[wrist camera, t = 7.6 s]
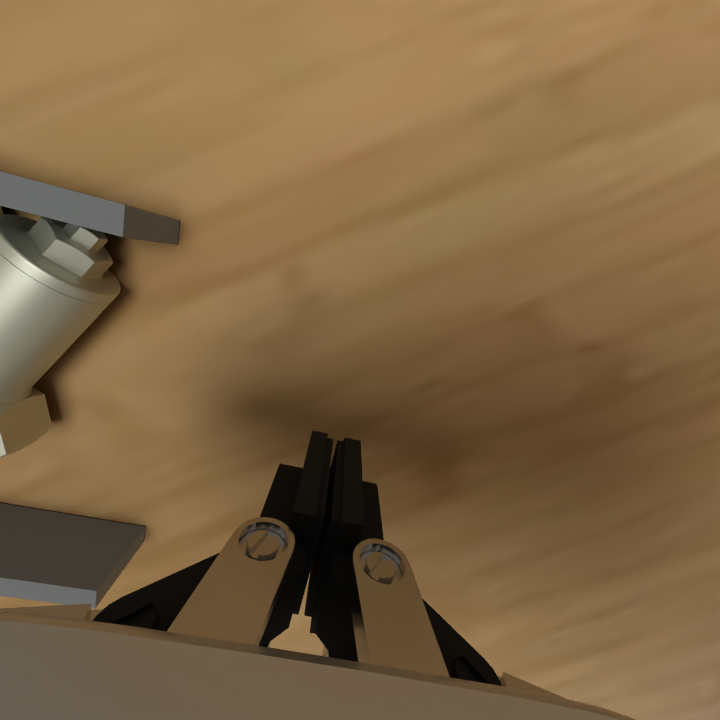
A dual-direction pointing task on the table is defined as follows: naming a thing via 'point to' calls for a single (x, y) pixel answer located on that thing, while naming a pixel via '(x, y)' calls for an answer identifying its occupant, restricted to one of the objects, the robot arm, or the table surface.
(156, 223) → the gray u-shaped frame
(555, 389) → the table surface
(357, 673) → the robot arm
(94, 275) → the pipe fitting
